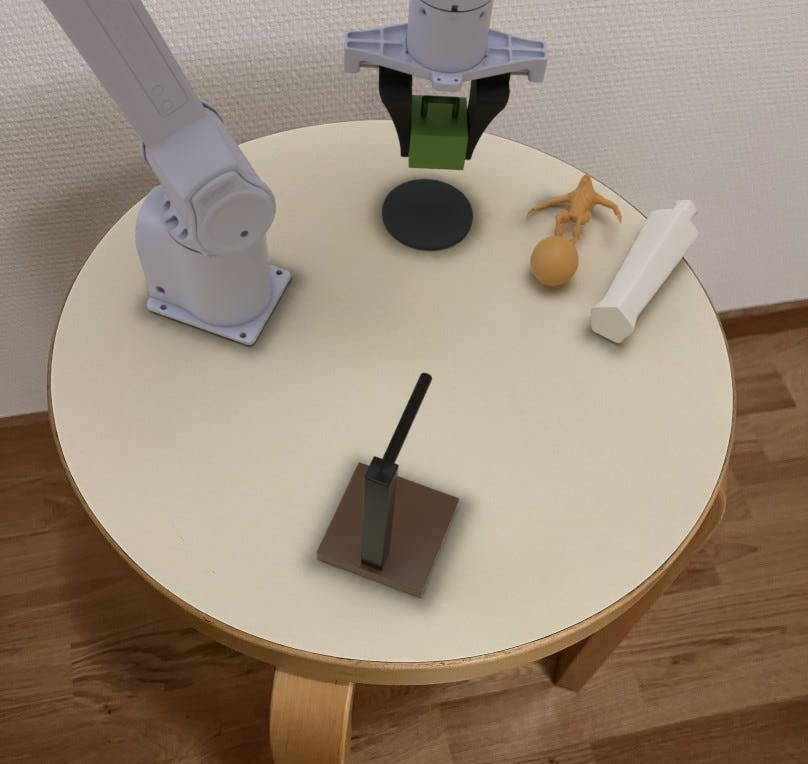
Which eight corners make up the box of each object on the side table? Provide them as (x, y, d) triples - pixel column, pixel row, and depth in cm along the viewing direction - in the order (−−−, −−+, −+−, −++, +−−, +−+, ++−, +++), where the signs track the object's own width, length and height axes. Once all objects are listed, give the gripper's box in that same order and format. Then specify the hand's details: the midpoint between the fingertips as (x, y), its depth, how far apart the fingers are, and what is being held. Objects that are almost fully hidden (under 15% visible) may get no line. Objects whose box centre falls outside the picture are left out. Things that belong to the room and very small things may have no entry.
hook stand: (316, 559, 65) (310, 464, 52) (363, 458, 68) (367, 347, 56) (420, 598, 64) (438, 511, 51) (462, 494, 68) (488, 390, 55)
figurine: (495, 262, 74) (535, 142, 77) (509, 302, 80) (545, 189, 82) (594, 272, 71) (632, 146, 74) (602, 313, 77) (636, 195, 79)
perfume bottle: (644, 347, 73) (716, 230, 79) (628, 303, 70) (704, 186, 76) (595, 346, 76) (668, 234, 82) (578, 305, 73) (655, 192, 79)
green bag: (408, 168, 71) (412, 116, 67) (408, 128, 73) (412, 75, 69) (463, 170, 72) (471, 118, 67) (462, 131, 73) (469, 78, 69)
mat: (368, 233, 78) (368, 230, 78) (401, 171, 81) (401, 167, 81) (454, 262, 77) (455, 259, 77) (484, 198, 80) (485, 195, 80)
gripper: (342, 18, 58) (343, 182, 70) (564, 30, 59) (527, 190, 71) (345, -51, 61) (345, 118, 73) (557, -39, 62) (522, 126, 74)
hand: (435, 149), depth 72 cm, fingers closed on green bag, 4 cm apart
